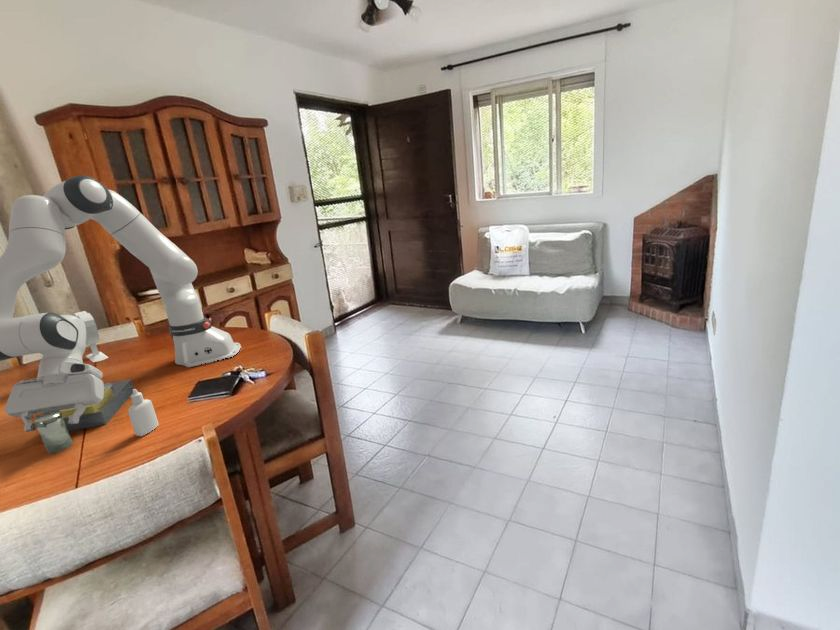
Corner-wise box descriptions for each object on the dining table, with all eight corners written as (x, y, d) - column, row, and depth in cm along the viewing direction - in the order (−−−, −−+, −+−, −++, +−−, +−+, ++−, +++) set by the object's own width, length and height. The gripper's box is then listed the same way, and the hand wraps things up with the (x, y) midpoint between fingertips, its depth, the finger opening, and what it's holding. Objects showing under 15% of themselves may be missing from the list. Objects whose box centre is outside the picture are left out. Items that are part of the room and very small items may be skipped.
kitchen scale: (84, 399, 130) (78, 381, 128) (134, 390, 133) (129, 373, 131) (46, 435, 112) (38, 415, 110) (105, 424, 114) (98, 405, 112)
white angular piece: (110, 358, 162) (95, 314, 156) (94, 363, 159) (78, 318, 153) (99, 350, 172) (84, 308, 166) (84, 354, 168) (68, 312, 163)
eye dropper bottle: (133, 432, 109) (119, 391, 105) (157, 423, 113) (144, 382, 109) (138, 438, 106) (123, 396, 102) (162, 428, 110) (149, 387, 106)
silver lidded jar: (77, 439, 108) (64, 407, 105) (62, 455, 102) (48, 421, 99) (54, 443, 107) (40, 411, 104) (38, 459, 101) (23, 425, 98)
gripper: (4, 377, 105) (-8, 432, 99) (96, 363, 109) (90, 415, 103) (22, 385, 111) (12, 438, 105) (109, 372, 115) (104, 422, 109)
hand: (51, 427), depth 104 cm, fingers open, 8 cm apart
